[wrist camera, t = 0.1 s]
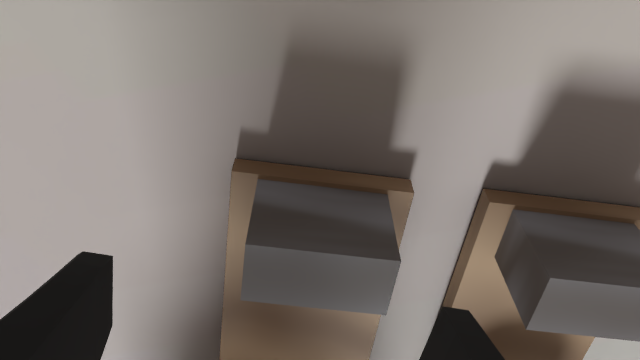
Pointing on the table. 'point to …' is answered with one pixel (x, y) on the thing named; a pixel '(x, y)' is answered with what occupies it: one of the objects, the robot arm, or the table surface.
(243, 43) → the table surface
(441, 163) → the table surface
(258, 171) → the strip empty
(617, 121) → the table surface
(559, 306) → the strip
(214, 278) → the table surface
